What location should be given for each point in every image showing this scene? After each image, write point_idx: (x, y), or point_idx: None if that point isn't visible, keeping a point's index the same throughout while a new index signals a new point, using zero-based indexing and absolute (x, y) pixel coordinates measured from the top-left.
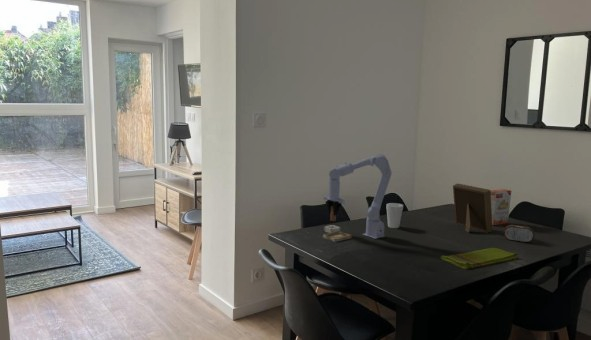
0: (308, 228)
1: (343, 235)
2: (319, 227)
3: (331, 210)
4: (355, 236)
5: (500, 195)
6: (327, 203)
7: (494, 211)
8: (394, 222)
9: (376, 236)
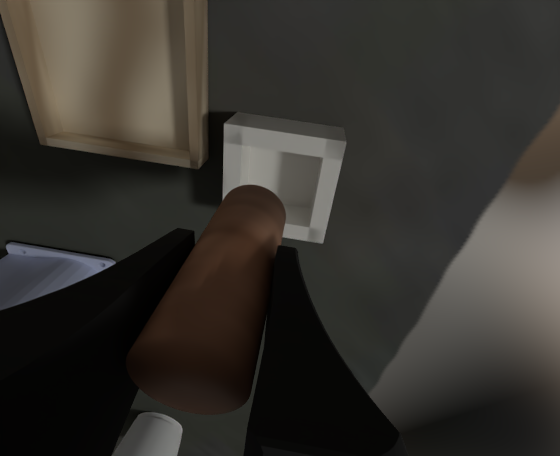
0: (540, 105)
1: (141, 144)
2: (452, 207)
3: (214, 270)
4: (108, 206)
5: None
6: (298, 398)
7: None
8: (124, 441)
9: (3, 259)
